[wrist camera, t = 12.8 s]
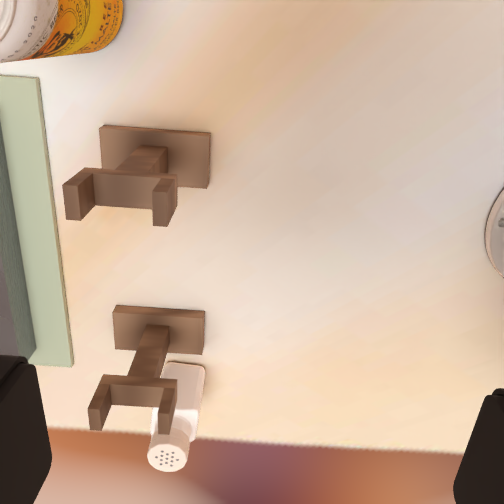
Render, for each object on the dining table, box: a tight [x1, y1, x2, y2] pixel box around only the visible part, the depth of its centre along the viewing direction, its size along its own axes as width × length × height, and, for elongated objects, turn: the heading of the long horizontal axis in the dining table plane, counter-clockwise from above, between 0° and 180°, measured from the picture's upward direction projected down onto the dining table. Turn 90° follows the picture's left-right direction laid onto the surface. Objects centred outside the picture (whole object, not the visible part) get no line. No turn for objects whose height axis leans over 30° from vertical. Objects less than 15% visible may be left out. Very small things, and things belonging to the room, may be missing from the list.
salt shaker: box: [147, 362, 205, 472], centre depth 40 cm, size 4×4×10 cm
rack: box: [62, 125, 210, 435], centre depth 34 cm, size 8×20×12 cm, turn 176°
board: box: [0, 75, 74, 367], centre depth 38 cm, size 9×26×1 cm, turn 176°
